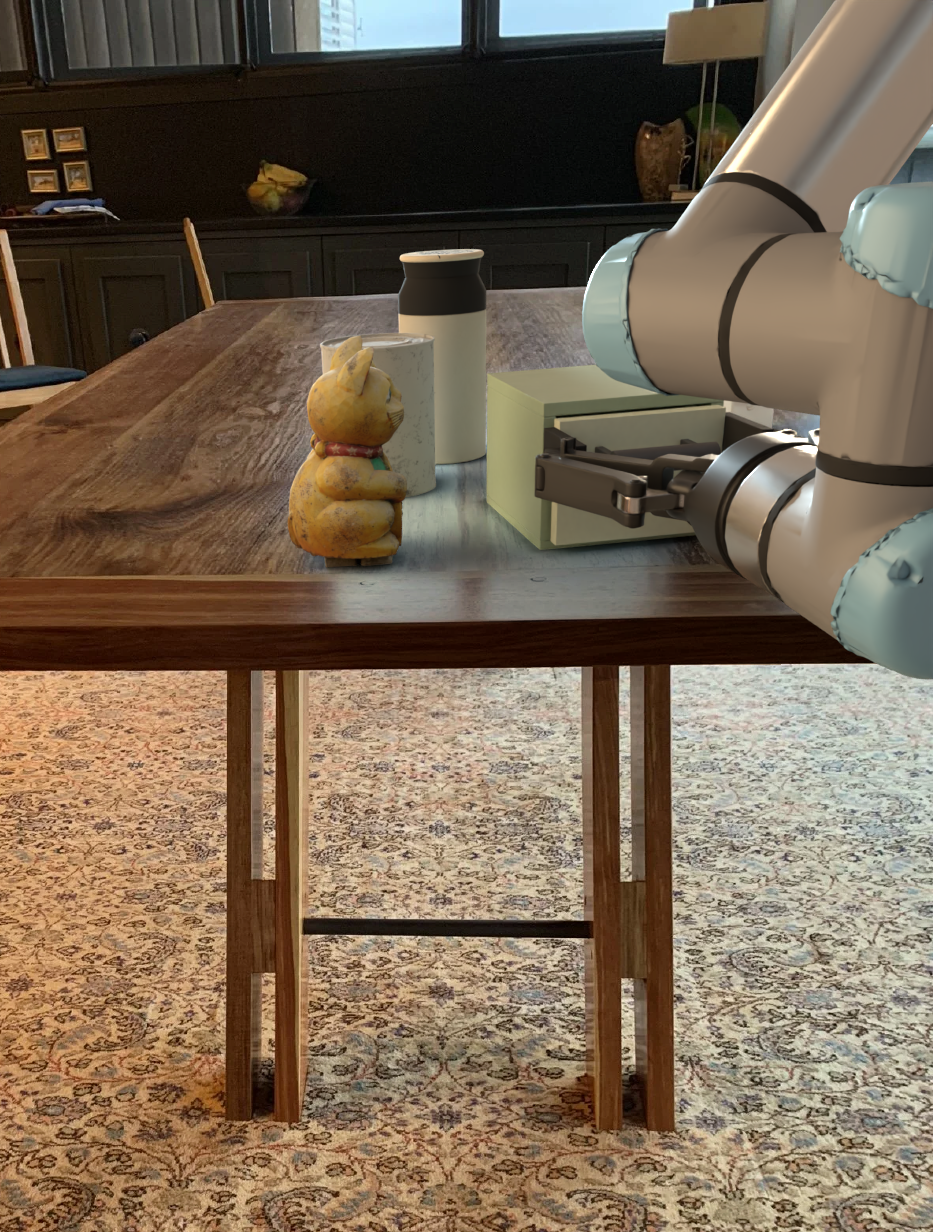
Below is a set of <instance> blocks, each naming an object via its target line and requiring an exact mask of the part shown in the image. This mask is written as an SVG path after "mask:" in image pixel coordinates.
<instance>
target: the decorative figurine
mask: <svg viewBox="0 0 933 1232" xmlns="http://www.w3.org/2000/svg"><path fill="white" fill-rule="evenodd" d="M353 336H354V335H353ZM373 353H374V348H373V347H367V348H365V349H363V350H362V338H361V336H354V337H351V338H349V339H347V340H346V341H344V342H343V343H342V344H341V345H340V346H339V347H338V348H337V350H336V351H335V353H334V355H333V357H332V359H331V366H330V371H329V372H327V373H325V374H323V373H322V375H320V376H319V377H318V378H317V379H316V381H315V382H314V383H313V384H312V385H311V387H310V390H309V392H308V396H307V401H306V409H307V420H308V423H309V425H310V428H311V431H312V432H313V434H312V436H311V437H310V440H309V444H310V447H311V448H312V449H311V451H310V452H309V454H308V455H307V457H306V460H305V461H304V462H303V463H302V464H301V466H300V468H299V469H298V471H296V474H295V477H294V479H293V481H292V484H291V487H290V490H289V498H288V516H287V521H286V522H287V530H288V535H289V539H290V540H291V542H292V544H293V545H294V546H295V548H296V549H302V551H304V552H306V553H309V554H310V555H311V556H312V557H318V556H319V557H322V558H324V566H325V568H340V567H352V566H353V567H356V566H359V565H361V566H364V567H367V566H368V567H369V566H379V565H390V564H393V557H394V556H396V555H397V553H398V551H399V548H400V547H401V546H402V543H403V542H402V541H403V515H404V512H403V508H404V506H403V505H404V504H403V503H404V500H405V499H406V498H407V497H406V493H407V481H406V478H405V477H404V475H403V474H398V473H395V472H393V470H392V467H391V465H390V462H389V460H388V458H387V456H386V455H385V453H384V452H383V448H382V445H383V444H385V443H387V442H388V441H389V440H390V439H391V438H392V436H393V434H394V433H395V431H396V430H397V429H398V427H399V426H400V424H401V423H402V421H403V419H404V407H403V405H402V403H401V397H402V396H401V392H400V391H399V390H398V389H397V388H396V387H395V386H394V384H393V382H392V380H391V378H390V377H389V375H388V374H386V373H384V372H383V371H381V370H380V369H377V368H376V365H375V363H374V362H373Z"/></svg>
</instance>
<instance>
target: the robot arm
mask: <svg viewBox="0 0 933 1232" xmlns="http://www.w3.org/2000/svg"><path fill="white" fill-rule="evenodd" d="M932 125H933V0H834V1H833V3H832V4H831V6H830V7H829V8H828V10H827V11H826V13H825V14H824V15H823V17H822V18H821V19H820V21H819V23H817V25H816V26H815V28H814V29H813V31H811V34H810V35H809V36H808V37H807V39H806V40H805V42H804V43H803V45H802V46H801V47H800V48H799V50H798V52H797V53H796V54H795V56H794V57H793V59H792V60H791V62H790V63H789V64H788V66H786V68H785V70H784V71H783V73H782V74H781V75H780V76H779V78H778V80H777V82H776V83H775V84H774V85H773V87H772V88H771V90H770V91H769V93H768V94H767V96H766V97H765V98H764V100H763V101H762V102H761V103H760V105H759V107H758V108H757V109H756V111H755V112H754V113H753V115H752V117H751V118H750V119H749V121H748V122H747V123H746V125H745V126H744V127H743V128H742V131H740V133H739V135H738V136H737V137H736V139H735V140H734V142H733V143H732V145H731V146H730V147H729V149H728V150H727V151H726V152H725V154H724V156H722V158H721V160H720V161H719V163H718V164H717V166H716V167H715V169H713V171H712V173H711V174H710V175H709V177H708V178H707V179H706V181H705V182H704V184H703V185H702V188H701V189H700V191H699V192H698V193H697V194H696V195H695V196H694V198H693V199H692V200H691V202H690V203H689V204H688V206H687V208H686V209H685V210H684V212H683V213H682V214H681V216H680V217H679V218H678V220H677V222H676V223H675V224H674V226H673V227H672V228H671V229H669V230H668V228H661V227H660V228H659V227H658V228H651V229H650V230H648V231H646V232H638V233H634V234H632V235H628V236H626V237H624V238H623V239H621V240H619V241H618V242H617V243H616V244H613V245H612V246H611V247H609V249H607V250H606V252H605V253H604V254H603V255H602V256H601V258H600V259H599V260H598V262H597V263H596V264H595V267H594V268H593V271H592V273H591V274H590V277H589V280H588V282H587V286H586V289H585V292H584V296H583V301H582V309H581V310H582V311H581V314H582V315H581V317H582V318H581V323H582V332H583V333H582V334H583V337H584V342H585V345H586V348H587V351H588V352H589V355H590V357H591V359H593V360H594V363H595V365H596V366H597V367H599V368H600V369H601V370H602V371H603V372H604V373H605V374H607V375H608V376H609V377H611V378H612V379H614V380H616V381H619V382H622V383H625V384H629V385H632V386H636V387H639V388H643V389H646V390H649V391H653V392H656V393H658V394H663V395H664V396H677V395H686V396H694V397H702V398H709V399H717V400H725V401H732V402H740V403H748V404H751V405H757V406H763V407H766V408H772V409H774V410H780V411H787V412H792V413H800V414H806V415H813V416H819V428H814V429H812V430H809V431H808V435H807V437H797V435H798V432H797V431H796V430H792V429H790V428H789V429H788V428H784V429H783V430H778V431H775V428H773V427H772V428H770V427H768V426H765V425H762V424H760V423H757V422H754V421H752V420H749V419H747V418H744V417H741V416H739V415H736V414H733V413H731V412H725V423H724V433H723V443H722V453H721V454H720V455H714V454H708V455H705V456H702V457H693V456H685V455H677V454H667V455H664V456H661V457H658V458H656V459H654V460H648V459H641V458H633V457H625V456H618V455H610V454H602V453H595V452H587V445H585V444H584V443H582V442H580V441H578V440H577V439H576V438H573V437H571V436H570V435H568V434H566V433H564V432H563V431H561V430H559V429H557V428H556V427H550V428H544V449H543V454H541V455H537V456H536V457H535V492H534V496H535V497H537V498H540V499H544V500H547V501H551V502H555V503H558V504H562V505H565V506H569V507H572V508H576V509H579V510H583V511H587V512H590V513H594V514H597V515H601V516H604V517H608V518H611V519H613V520H615V521H616V522H618V523H620V524H621V525H623V526H625V527H629V528H632V529H634V528H639V527H641V526H643V525H644V519H645V512H651V514H652V515H654V516H659V517H665V518H671V519H677V520H683V521H687V522H688V523H689V524H690V525H691V526H692V527H693V530H694V532H695V534H696V535H695V536H696V538H697V540H698V542H699V544H700V545H701V547H702V548H703V550H704V551H705V552H706V553H707V555H708V556H709V557H710V558H712V559H713V560H714V561H715V562H717V563H718V564H720V565H722V566H723V567H724V568H726V569H728V570H729V571H731V572H733V573H734V574H736V575H737V576H739V577H740V578H742V579H744V580H747V581H749V583H750V582H751V584H753V585H755V586H756V587H758V588H760V590H763V591H765V592H766V593H768V594H769V595H771V596H773V597H774V598H775V599H777V600H779V601H780V602H781V603H783V604H784V605H786V606H787V607H789V608H790V609H791V610H793V612H796V614H798V615H800V616H802V617H803V618H805V619H806V620H807V621H808V622H810V623H812V625H814V626H816V627H817V628H819V629H821V630H822V631H823V632H825V633H826V634H828V635H829V636H830V637H832V638H833V639H835V640H837V641H838V643H839V644H840V645H841V646H843V649H845V650H847V651H848V652H851V653H853V654H854V655H856V656H857V657H862V658H865V659H866V660H869V661H871V662H873V663H875V664H876V665H878V666H881V667H883V668H885V669H887V670H888V671H893V672H894V673H897V674H899V675H901V676H905V677H908V678H912V679H916V680H926V681H927V680H933V181H917V182H901V183H893V184H891V182H892V181H893V179H894V178H895V177H896V176H897V174H898V173H899V172H900V171H901V169H902V167H903V166H904V165H905V164H906V162H907V160H908V159H909V157H910V156H911V154H912V153H913V152H914V150H915V149H916V148H917V146H919V144H920V143H921V141H922V139H924V137H925V135H926V134H927V133H928V131H929V130H930V129H931V127H932ZM674 468H676V469H683V470H682V471H681V472H679V473H678V474H677V475H676V476H675V477H674V478H673V476H674Z"/></svg>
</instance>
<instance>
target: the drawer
mask: <svg viewBox="0 0 933 1232" xmlns="http://www.w3.org/2000/svg"><path fill="white" fill-rule="evenodd" d="M725 412H726V407H723V406H720V405H709V406H696V405H693V404H692V405H681V406H669V407H657V408H645V409H633V410H622V411H610V412H598V413H586V414H575V415H563V416H556V419H554V427H556V428H557V429H559V430H561V431H563V432H564V433H566V434H568V435H570V436H571V437H573V438H576V439H577V440H578V441H580V442H582V443H584V444H585V445H587V452H595V453H602V454H610V455H618V456H625V457H633V458H641V459H648V460H654V459H656V458H658V457H661V456H664V455H667V454H677V455H685V456H693V457H702V456H705V455H708V454H714V455H720V454H721V453H722V443H723V433H724V423H725ZM682 470H683V469H676V468H674V476H673V478H674V477H675V476H676V475H677V474H678V473H679V472H681V471H682ZM692 532H694V530H693V527H692V526H691V525H690V524H689V523H688V522H687V521H683V520H677V519H671V518H665V517H659V516H654V515H652V514H651V512H645V519H644V525H643V526H641V527H639V528H634V529H632V528H629V527H625V526H623V525H621V524H620V523H618V522H616V521H615V520H613V519H611V518H608V517H604V516H601V515H597V514H594V513H590V512H587V511H583V510H579V509H576V508H572V507H569V506H565V505H562V504H558V503H555V502H552V512H551V542H552V543H553V544H554V545H556V546H557V545H568V544H578V543H588V542H599V541H609V540H620V539H630V538H640V537H651V536H661V535H672V534H682V533H692Z"/></svg>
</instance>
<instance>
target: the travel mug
mask: <svg viewBox="0 0 933 1232" xmlns="http://www.w3.org/2000/svg"><path fill="white" fill-rule="evenodd" d="M484 255H485V252H484V251H483V249H476V248H475V249H474V248H471V249H470V248H464V249H463V248H462V249H461V248H460V249H457V248H455V249H437V250H424V251H415V252H414V251H413V252H408V253H407V252H406V253H403V254H401V255H400V256H399V260H400V262H401V263H402V266H403V272H404V277H405V278H404V280H403V282H402V284H401V287H400V290H399V292H398V294H397V307H398V308H397V310H398V315H397V316H398V333H419V334H427V335H432V336H434V337H435V341H434V405H435V465H453V464H461V463H468V462H472V461H475V460H478V459H481V458H482V457H483V456H485V455H487V288H486V287H485V284H484V283H483V280H482V278H481V276H480V274H479V273H480V267H481V260H482V258H483V256H484Z"/></svg>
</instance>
